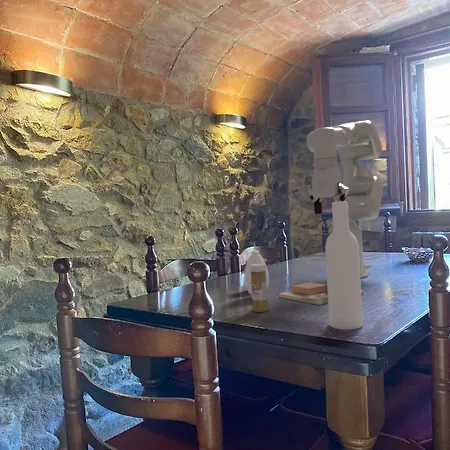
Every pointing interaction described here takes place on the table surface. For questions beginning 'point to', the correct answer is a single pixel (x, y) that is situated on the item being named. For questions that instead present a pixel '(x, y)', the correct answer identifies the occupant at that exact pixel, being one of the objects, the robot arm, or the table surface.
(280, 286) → the table surface
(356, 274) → the bottle
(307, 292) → the tile
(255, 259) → the sauce bottle
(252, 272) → the sprinkles bottle
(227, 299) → the table surface
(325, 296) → the scraper
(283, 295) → the board
